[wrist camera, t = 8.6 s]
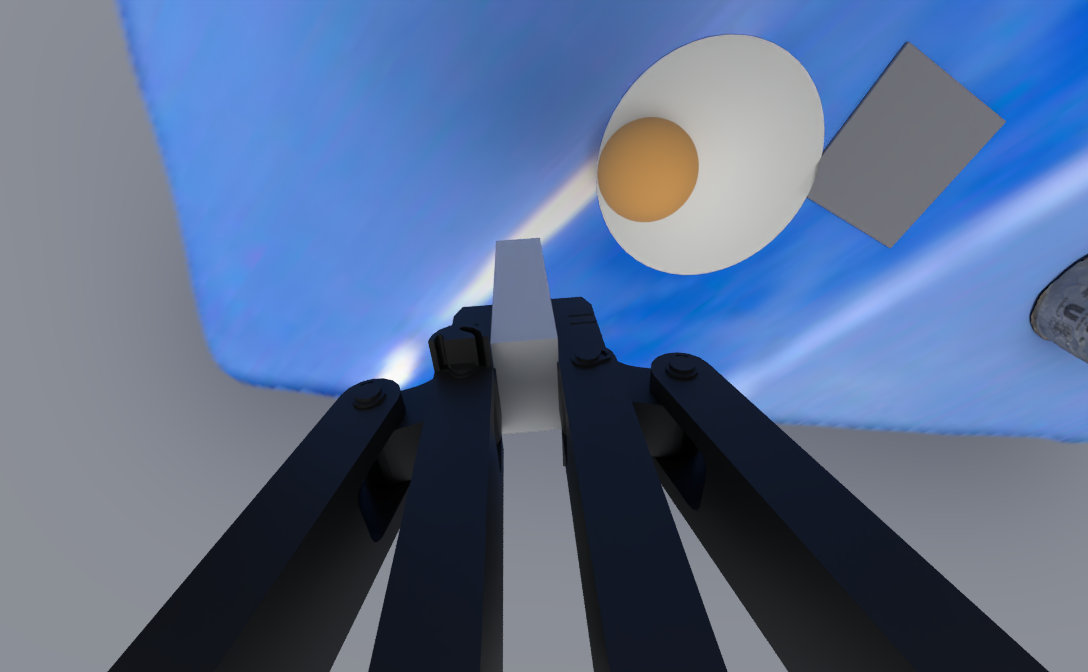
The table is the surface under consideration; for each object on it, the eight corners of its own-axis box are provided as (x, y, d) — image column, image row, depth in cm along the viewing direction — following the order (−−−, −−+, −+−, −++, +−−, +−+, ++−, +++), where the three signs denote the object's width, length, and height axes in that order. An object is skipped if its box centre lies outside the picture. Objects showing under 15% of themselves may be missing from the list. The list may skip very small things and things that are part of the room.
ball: (591, 109, 23) (640, 99, 27) (569, 211, 27) (616, 189, 30) (691, 145, 21) (729, 129, 25) (653, 250, 25) (692, 222, 28)
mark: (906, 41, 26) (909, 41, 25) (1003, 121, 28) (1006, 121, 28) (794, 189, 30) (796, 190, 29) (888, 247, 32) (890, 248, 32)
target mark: (782, -28, 24) (784, -29, 23) (846, 200, 30) (848, 200, 30) (552, 135, 27) (553, 135, 27) (655, 308, 33) (656, 309, 33)
